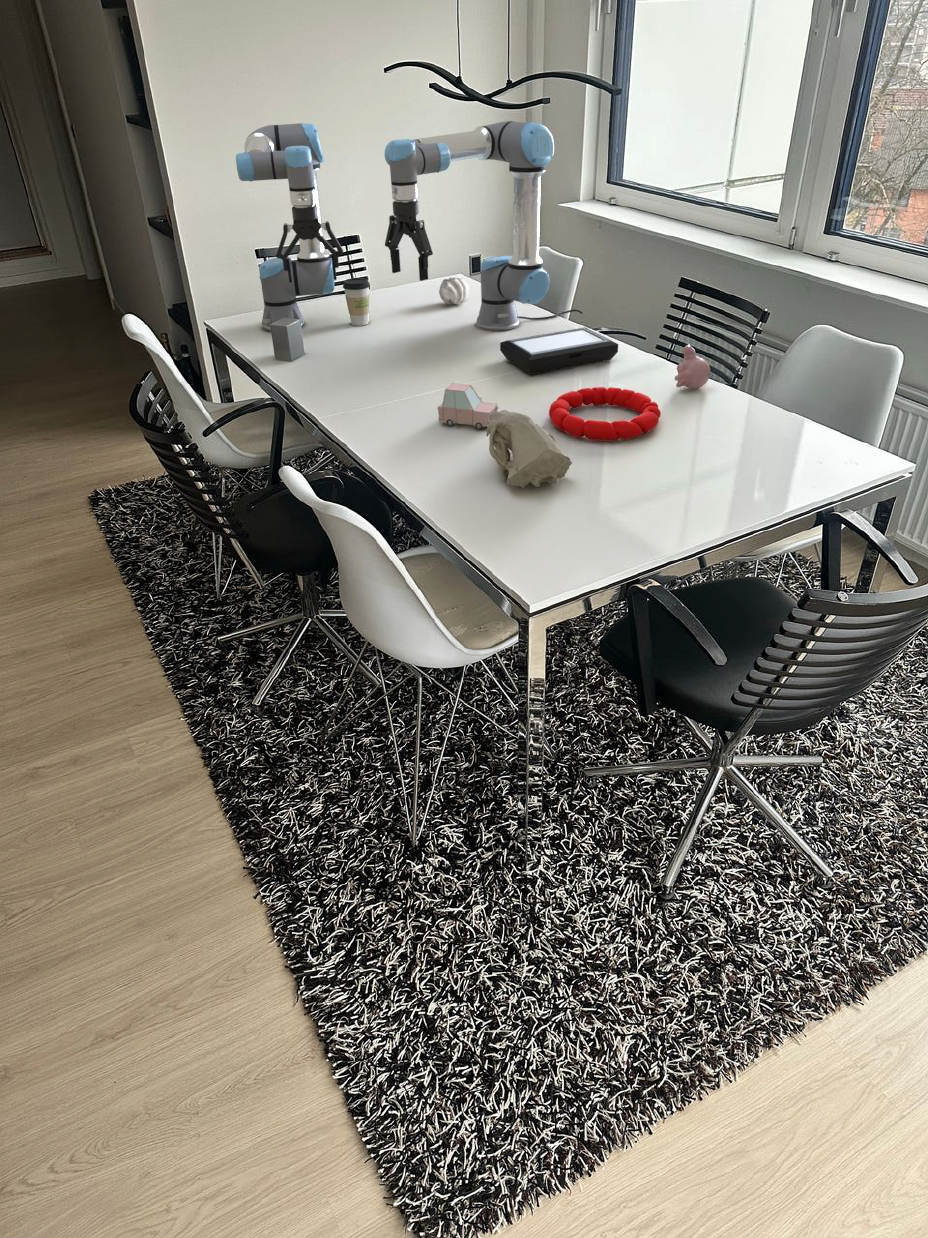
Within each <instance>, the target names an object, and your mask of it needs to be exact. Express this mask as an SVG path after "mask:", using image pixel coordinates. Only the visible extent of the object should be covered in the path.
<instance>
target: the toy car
mask: <svg viewBox="0 0 928 1238" xmlns="http://www.w3.org/2000/svg"><path fill="white" fill-rule="evenodd" d="M498 409H499V404H498V403H497V402H490V401H489V402H487V401H483V397H481V396H480V395H479V394H478V393H477V391H476V390H475V389H474V386H472V384H469V383H459V382H451V383H450V384H449V385H448V386H447V387H446V388H445V389H444V394H443V399H442V403H440V404H439V405H438V406H437V413H438V421H439V422H443V423H446V425H447V426H448V427H452V426H454V425H455V424H461V425H469V426H473V427H475V429H476V430H479V431H480V430H481V429H483V428H485V427H486V428H487V423H488V422H490V414H491V413H492V412H496V411H499V410H498Z"/></svg>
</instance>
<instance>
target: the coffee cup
mask: <svg viewBox="0 0 928 1238" xmlns="http://www.w3.org/2000/svg"><path fill="white" fill-rule="evenodd" d="M370 287H371V283H370V282H369V279H367V278H365V277H351V278H347V279H345V280H344V281H343V285H342V288H343V290H344V297H345V301H346V305H347V310H348V314H349V318H350V323H351V325H353V326H357V327H359V326H365V325H368V324H369V317H370V316H369V313H370Z"/></svg>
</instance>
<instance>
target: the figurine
mask: <svg viewBox="0 0 928 1238" xmlns="http://www.w3.org/2000/svg"><path fill="white" fill-rule="evenodd" d="M682 354H683V358H684V359H683V361H682V362H679V363H678V364H677V365H676V372H677V375H675V376H674V381H675V382H676V381H677V382H676V384H675V386H676V388H681V387H686V388H688V389H693V390H694V389H695V390H696V389H700V388H703V387H704V386H705V385H706V384H707V383H708V382H709V379H710V377H711V367H710V364H709V362H708V361H706V359H704V358H702V357H700V356H697V353H696V350H695V349H694V347H692V345H690V344H686V345H685V346H684V347H683V348H682Z"/></svg>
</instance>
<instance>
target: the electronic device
mask: <svg viewBox="0 0 928 1238" xmlns="http://www.w3.org/2000/svg"><path fill="white" fill-rule="evenodd" d="M499 350H500V353H502V355H503V356H504V358H505V359H506V360H507V361H508V362H510V363H511V364H512V365H515V366H517V367H518V368H520V369H521V370H523V371H525V372H526V373H528V374H529V375H530V376H532V375H535V374H542V373H547V372H548V373H549V372H552V371H558V370H564V369H570V368H575V367H580V366H586V365H592V364H597V363H602V362H608V361H611V360H612V359H613V358H614V357H615V356H616V355H617V354H618V352H619V343H617V342H616V341H613V340H612V339H609V338H607V337H605V336H603V335H601V334H599V333H597V332H595V331H594V330H591V329H589V328H587V327H585V326H584V327H579V328H572V329H566V330H561V331H555V332H549V333H543V334H537V335H532V336H525V337H519V338H514V339H508V340H505V341H502V342H499Z"/></svg>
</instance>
